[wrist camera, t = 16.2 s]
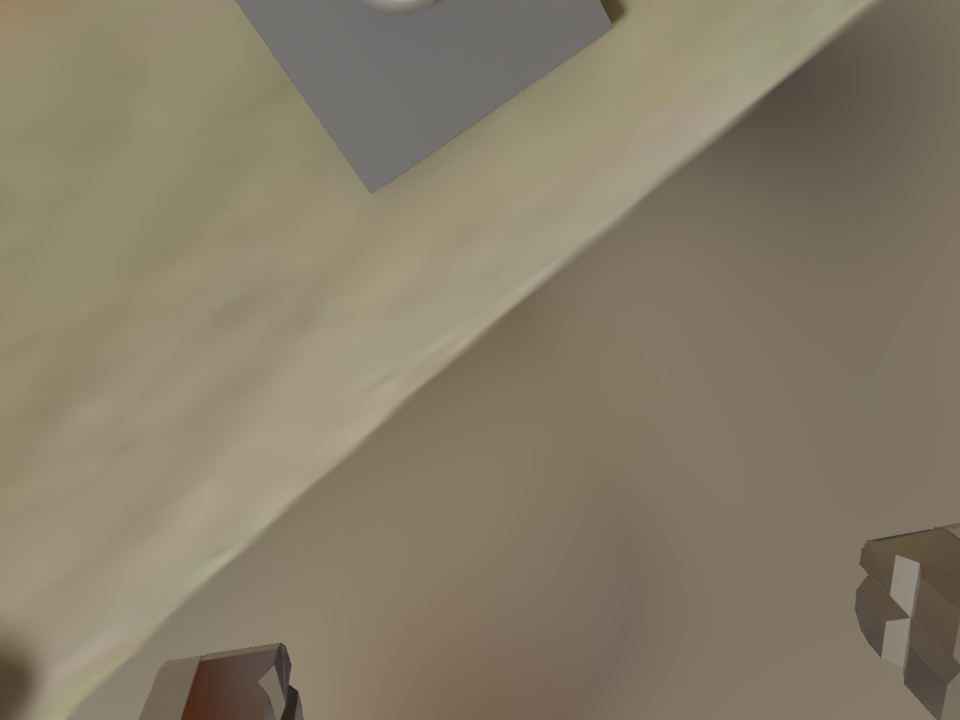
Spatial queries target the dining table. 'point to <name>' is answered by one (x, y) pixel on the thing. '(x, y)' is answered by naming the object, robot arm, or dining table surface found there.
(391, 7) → the white lidded jar
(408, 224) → the dining table surface
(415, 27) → the serving board
